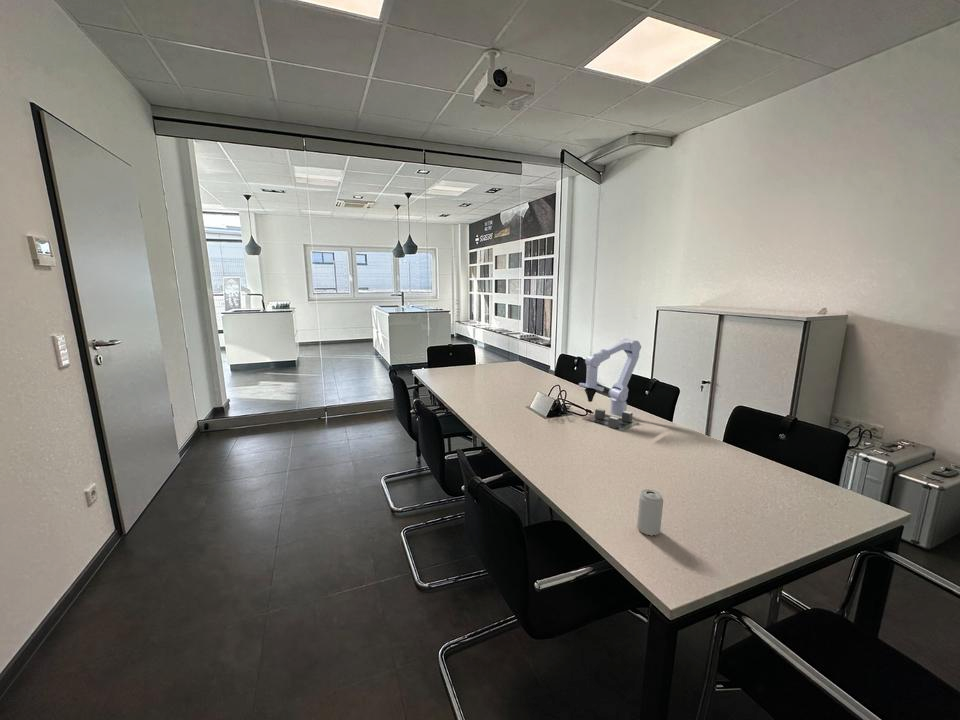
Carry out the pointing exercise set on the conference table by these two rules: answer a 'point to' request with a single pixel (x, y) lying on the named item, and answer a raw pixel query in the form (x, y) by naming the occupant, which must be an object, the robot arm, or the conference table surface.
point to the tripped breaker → (600, 413)
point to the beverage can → (650, 512)
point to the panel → (622, 424)
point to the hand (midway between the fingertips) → (590, 401)
